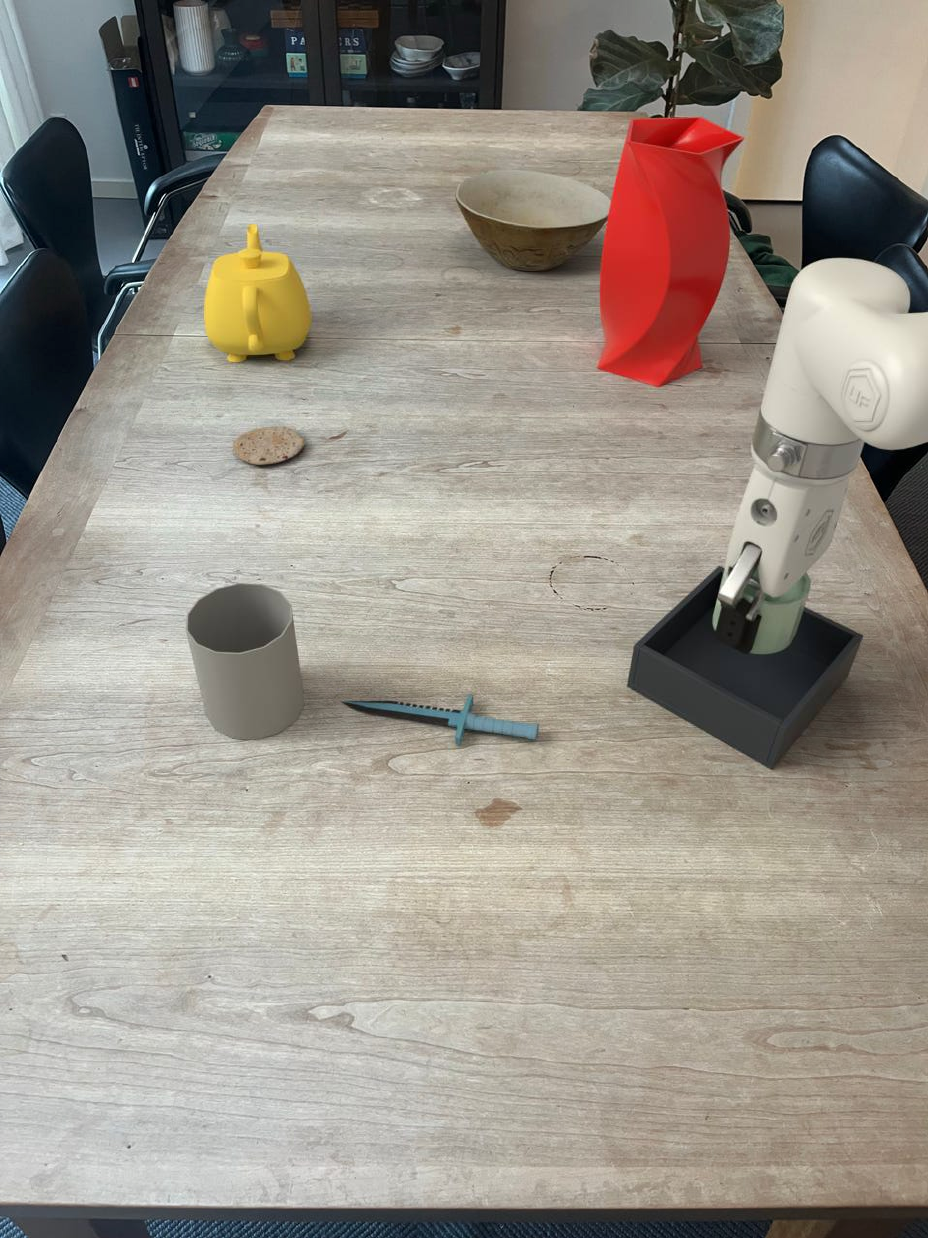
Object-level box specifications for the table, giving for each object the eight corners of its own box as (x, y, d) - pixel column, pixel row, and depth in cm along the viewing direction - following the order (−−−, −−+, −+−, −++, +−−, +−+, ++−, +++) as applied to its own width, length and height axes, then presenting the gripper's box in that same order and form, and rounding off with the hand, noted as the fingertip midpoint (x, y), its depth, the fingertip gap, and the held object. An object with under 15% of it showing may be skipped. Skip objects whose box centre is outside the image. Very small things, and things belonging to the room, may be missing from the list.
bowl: (615, 237, 162) (623, 173, 156) (595, 299, 145) (602, 230, 139) (474, 222, 166) (475, 159, 159) (438, 280, 149) (438, 212, 142)
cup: (305, 734, 83) (293, 648, 77) (205, 745, 82) (184, 659, 76) (301, 663, 90) (289, 578, 83) (207, 673, 89) (188, 587, 82)
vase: (614, 325, 139) (640, 108, 120) (717, 344, 135) (761, 123, 117) (583, 375, 129) (607, 145, 110) (694, 397, 125) (739, 163, 106)
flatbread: (239, 472, 111) (238, 465, 111) (229, 437, 116) (227, 430, 116) (311, 460, 113) (311, 452, 113) (297, 426, 118) (297, 418, 118)
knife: (330, 718, 84) (349, 676, 88) (332, 727, 85) (350, 686, 88) (532, 747, 81) (542, 703, 84) (532, 757, 82) (542, 712, 85)
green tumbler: (808, 624, 85) (825, 574, 81) (770, 666, 81) (785, 616, 77) (737, 589, 88) (750, 539, 84) (697, 628, 84) (708, 578, 80)
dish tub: (847, 676, 89) (864, 635, 86) (771, 770, 81) (786, 728, 78) (709, 606, 96) (719, 565, 93) (626, 686, 88) (633, 644, 85)
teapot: (204, 379, 127) (187, 282, 118) (215, 309, 141) (200, 218, 133) (314, 374, 128) (304, 278, 119) (313, 305, 142) (304, 215, 134)
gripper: (799, 514, 65) (743, 700, 77) (906, 410, 75) (842, 590, 87) (699, 470, 69) (661, 655, 81) (814, 377, 78) (764, 554, 91)
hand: (755, 620), depth 84 cm, fingers closed on green tumbler, 6 cm apart
